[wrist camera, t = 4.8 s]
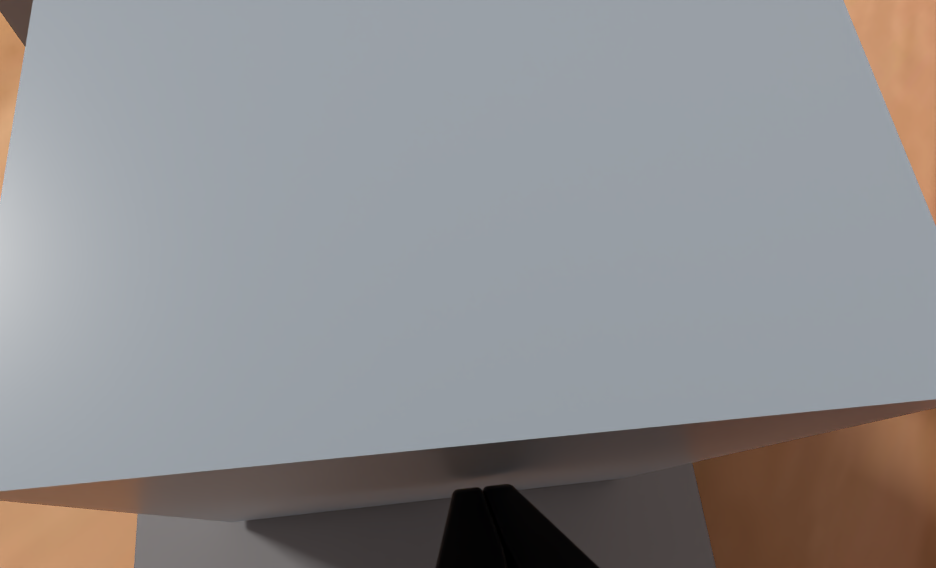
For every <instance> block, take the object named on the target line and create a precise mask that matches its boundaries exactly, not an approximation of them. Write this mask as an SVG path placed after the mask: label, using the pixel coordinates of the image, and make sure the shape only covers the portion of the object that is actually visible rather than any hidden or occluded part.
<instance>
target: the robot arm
mask: <svg viewBox="0 0 936 568" xmlns="http://www.w3.org/2000/svg"><path fill="white" fill-rule="evenodd" d="M435 568H600V567H599V566H598V565H597V564H596V563H594V562H593V561H592V560H591V559H590V558H589V557H588V556H587V555H586V554H585V553H584V552H583V551H582V550H581V549H580V548H579V547H577V546H576V545H575V544H574V543H573V542H572V541H571V540H570V539H569V538H568V537H567V536H566V535H565V534H564V533H563V532H562V531H561V530H559V529H558V528H557V527H556V526H555V525H554V524H553V523H552V522H551V521H550V520H549V519H548V518H547V517H546V516H545V515H544V514H542V513H541V512H540V511H539V510H538V509H537V508H536V507H535V506H534V505H533V504H532V503H531V502H530V501H529V500H528V499H527V498H525V497H524V496H523V495H522V494H521V493H520V492H519V491H518V490H517V489H516V488H515V487H514V486H512V485H510V484H500V485H491V486H486V487H484V488H483V490H482V489H481V488H479V487H472V488H463V489H456V490H454V492H453V493H452V497H451V501H450V505H449V510H448V514H447V519H446V523H445V527H444V532H443V536H442V540H441V545H440V549H439V553H438V558H437V562H436V566H435Z"/></svg>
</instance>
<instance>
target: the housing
mask: <svg viewBox="0 0 936 568" xmlns="http://www.w3.org/2000/svg"><path fill="white" fill-rule="evenodd" d="M32 4H33V0H0V12H1V13H2V14H3V16H4V17H5V19H6V20H7V21H8V23H9V24H10V26H11V27H12V29H13V30H14V31H15V33H16V34H17V36H18V37H19V39H20V40H21V41H22V43H23V44H24V46H25V47H26V40H27V34H28V28H29V22H30V16H31V10H32ZM518 491H519V492H520V493H521V494H522V495H523V496H524V497H525V498H527V499H528V500H529V501H530V502H531V503H532V504H533V505H534V506H535V507H536V508H537V509H538V510H539V511H540V512H541V513H542V514H544V515H545V516H546V517H547V518H548V519H549V520H550V521H551V522H552V523H553V524H554V525H555V526H556V527H557V528H558V529H559V530H561V531H562V532H563V533H564V534H565V535H566V536H567V537H568V538H569V539H570V540H571V541H572V542H573V543H574V544H575V545H576V546H577V547H579V548H580V549H581V550H582V551H583V552H584V553H585V554H586V555H587V556H588V557H589V558H590V559H591V560H592V561H593V562H594V563H596V564H597V565H598V566H599V567H600V568H716V565H715V561H714V557H713V552H712V548H711V543H710V539H709V535H708V530H707V526H706V521H705V517H704V513H703V508H702V504H701V500H700V495H699V491H698V486H697V482H696V478H695V473H694V469H693V464H692V463H689V464H684V465H680V466H675V467H671V468H667V469H662V470H658V471H653V472H649V473H644V474H640V475H635V476H631V477H627V478H621V479H612V480H603V481H594V482H586V483H577V484H568V485H559V486H550V487H541V488H532V489H523V490H518ZM450 501H451V498H443V499H434V500H425V501H416V502H407V503H399V504H390V505H381V506H372V507H363V508H354V509H345V510H336V511H327V512H318V513H309V514H301V515H292V516H283V517H274V518H265V519H256V520H247V521H238V522H223V521H212V520H201V519H191V518H180V517H169V516H159V515H148V514H138V517H137V533H136V548H135V563H134V568H435V566H436V562H437V558H438V553H439V549H440V545H441V540H442V536H443V532H444V527H445V523H446V519H447V514H448V510H449V505H450Z"/></svg>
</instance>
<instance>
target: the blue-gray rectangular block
mask: <svg viewBox="0 0 936 568" xmlns="http://www.w3.org/2000/svg"><path fill="white" fill-rule="evenodd" d="M933 408H936V226H935V223H934V221H933V218H932V216H931V214H930V211H929V209H928V206H927V204H926V201H925V199H924V196H923V194H922V192H921V189H920V187H919V184H918V182H917V179H916V177H915V174H914V172H913V170H912V167H911V165H910V162H909V160H908V157H907V155H906V153H905V150H904V148H903V145H902V143H901V140H900V138H899V135H898V133H897V131H896V128H895V126H894V123H893V121H892V118H891V116H890V113H889V111H888V109H887V106H886V104H885V101H884V99H883V96H882V94H881V91H880V89H879V87H878V84H877V82H876V79H875V77H874V74H873V72H872V69H871V67H870V65H869V62H868V60H867V57H866V55H865V52H864V50H863V47H862V45H861V43H860V40H859V38H858V35H857V33H856V30H855V28H854V25H853V23H852V21H851V18H850V16H849V13H848V11H847V8H846V6H845V4H844V1H843V0H33V4H32V10H31V16H30V22H29V28H28V34H27V40H26V47H25V53H24V59H23V65H22V71H21V77H20V83H19V89H18V95H17V102H16V108H15V114H14V120H13V126H12V132H11V138H10V144H9V150H8V157H7V163H6V169H5V175H4V181H3V187H2V193H1V199H0V501H10V502H21V503H31V504H42V505H52V506H63V507H74V508H84V509H95V510H106V511H116V512H127V513H137V514H148V515H159V516H169V517H180V518H191V519H201V520H212V521H223V522H238V521H247V520H256V519H265V518H274V517H283V516H292V515H301V514H309V513H318V512H327V511H336V510H345V509H354V508H363V507H372V506H381V505H390V504H399V503H407V502H416V501H425V500H434V499H443V498H451V497H452V493H453V492H454V490H456V489H463V488H472V487H479V488H481V489H482V490H483V488H484V487H486V486H491V485H500V484H510V485H512V486H514V487H515V488H516V489H517V490H523V489H532V488H541V487H550V486H559V485H568V484H577V483H586V482H594V481H603V480H612V479H621V478H627V477H631V476H635V475H640V474H644V473H649V472H653V471H658V470H662V469H667V468H671V467H675V466H680V465H684V464H689V463H693V462H698V461H702V460H706V459H711V458H715V457H720V456H724V455H729V454H733V453H738V452H742V451H746V450H751V449H755V448H760V447H764V446H769V445H773V444H777V443H782V442H786V441H791V440H795V439H800V438H804V437H809V436H813V435H817V434H822V433H826V432H831V431H835V430H840V429H844V428H849V427H853V426H857V425H862V424H866V423H871V422H875V421H880V420H884V419H888V418H893V417H897V416H902V415H906V414H911V413H915V412H920V411H924V410H928V409H933Z"/></svg>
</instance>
